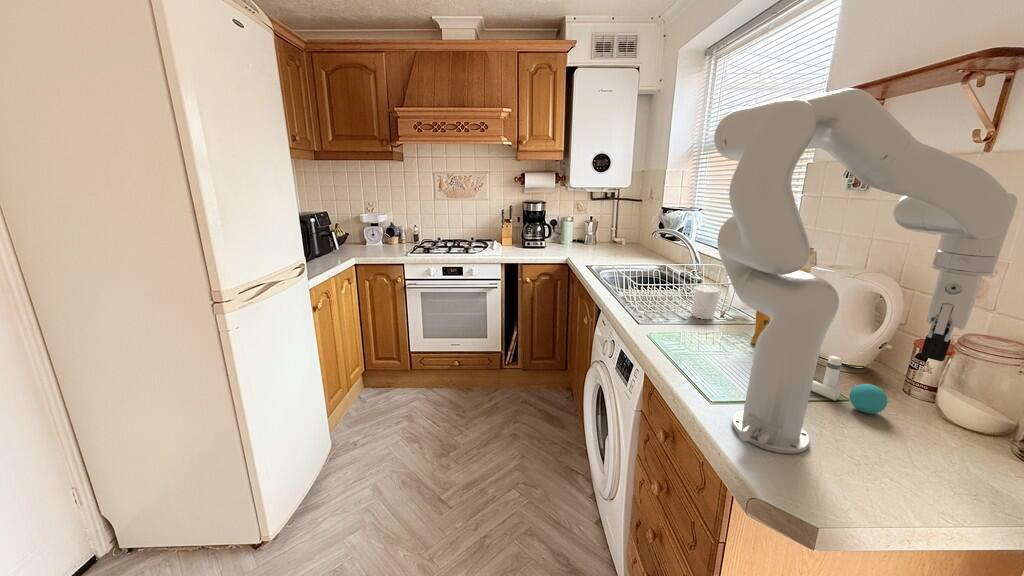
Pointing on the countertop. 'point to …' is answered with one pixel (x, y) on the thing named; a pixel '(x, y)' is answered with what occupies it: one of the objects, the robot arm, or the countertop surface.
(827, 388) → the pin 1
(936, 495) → the countertop surface
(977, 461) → the countertop surface
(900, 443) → the countertop surface
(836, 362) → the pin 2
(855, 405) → the teal egg
